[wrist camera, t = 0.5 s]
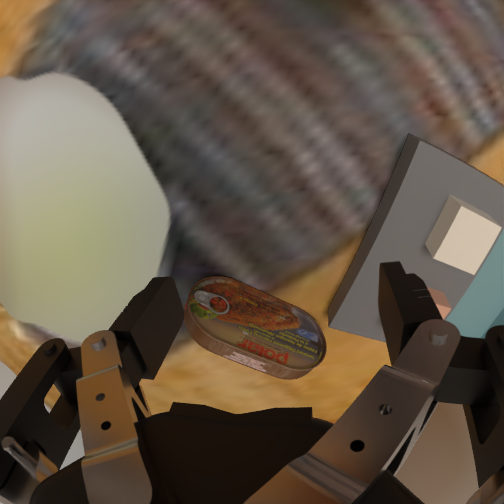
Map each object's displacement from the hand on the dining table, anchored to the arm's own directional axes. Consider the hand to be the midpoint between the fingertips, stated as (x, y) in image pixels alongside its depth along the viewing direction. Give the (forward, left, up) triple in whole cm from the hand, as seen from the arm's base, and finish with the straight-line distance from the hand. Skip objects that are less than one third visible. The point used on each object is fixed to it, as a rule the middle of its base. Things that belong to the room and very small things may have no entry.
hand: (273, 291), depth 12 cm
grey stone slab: (+4, +14, -18) cm, 23 cm away
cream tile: (-1, +15, -15) cm, 21 cm away
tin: (+16, +1, -18) cm, 24 cm away
